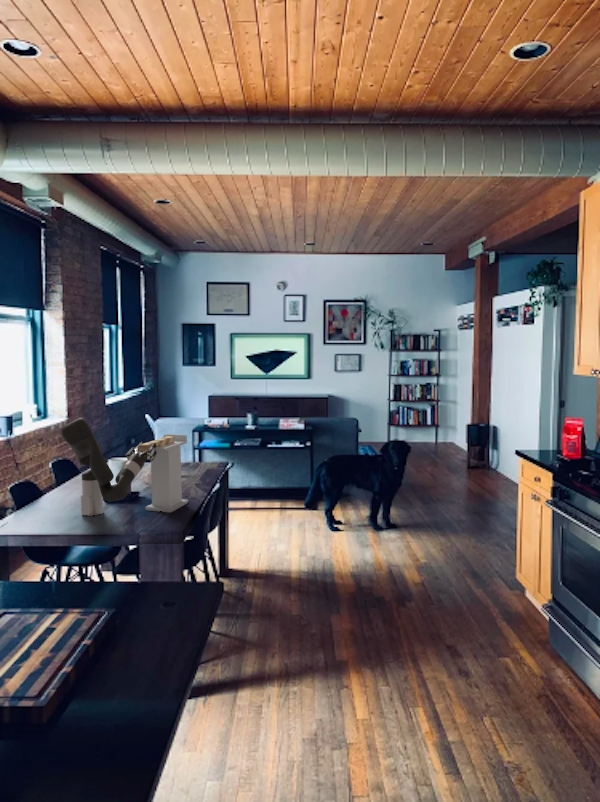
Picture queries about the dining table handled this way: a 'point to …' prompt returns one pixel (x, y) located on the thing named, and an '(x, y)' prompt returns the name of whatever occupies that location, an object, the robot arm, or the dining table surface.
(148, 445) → the brown wooden block
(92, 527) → the dining table surface
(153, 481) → the white plinth column
